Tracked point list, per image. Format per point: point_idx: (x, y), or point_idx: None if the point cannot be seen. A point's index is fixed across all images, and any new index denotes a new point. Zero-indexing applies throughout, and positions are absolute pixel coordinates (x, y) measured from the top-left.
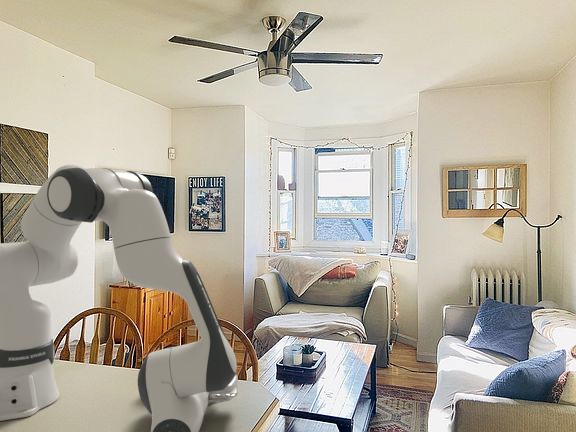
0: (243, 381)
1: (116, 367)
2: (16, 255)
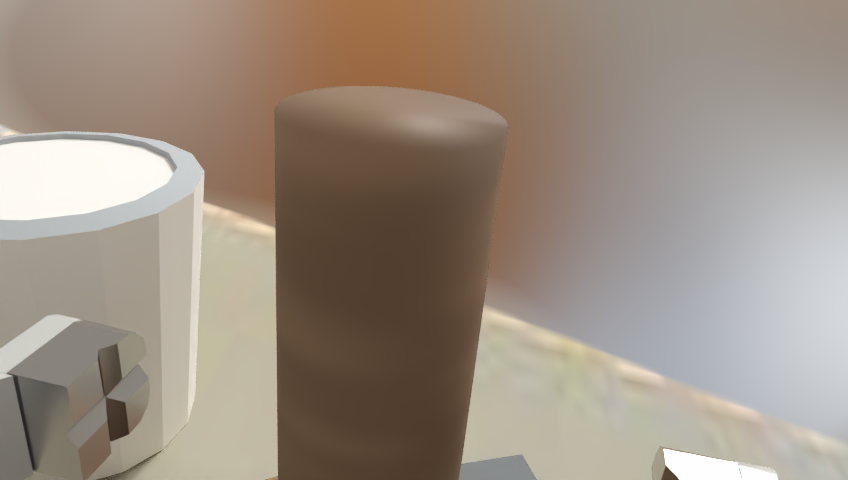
0: (808, 441)
1: (7, 135)
2: None
